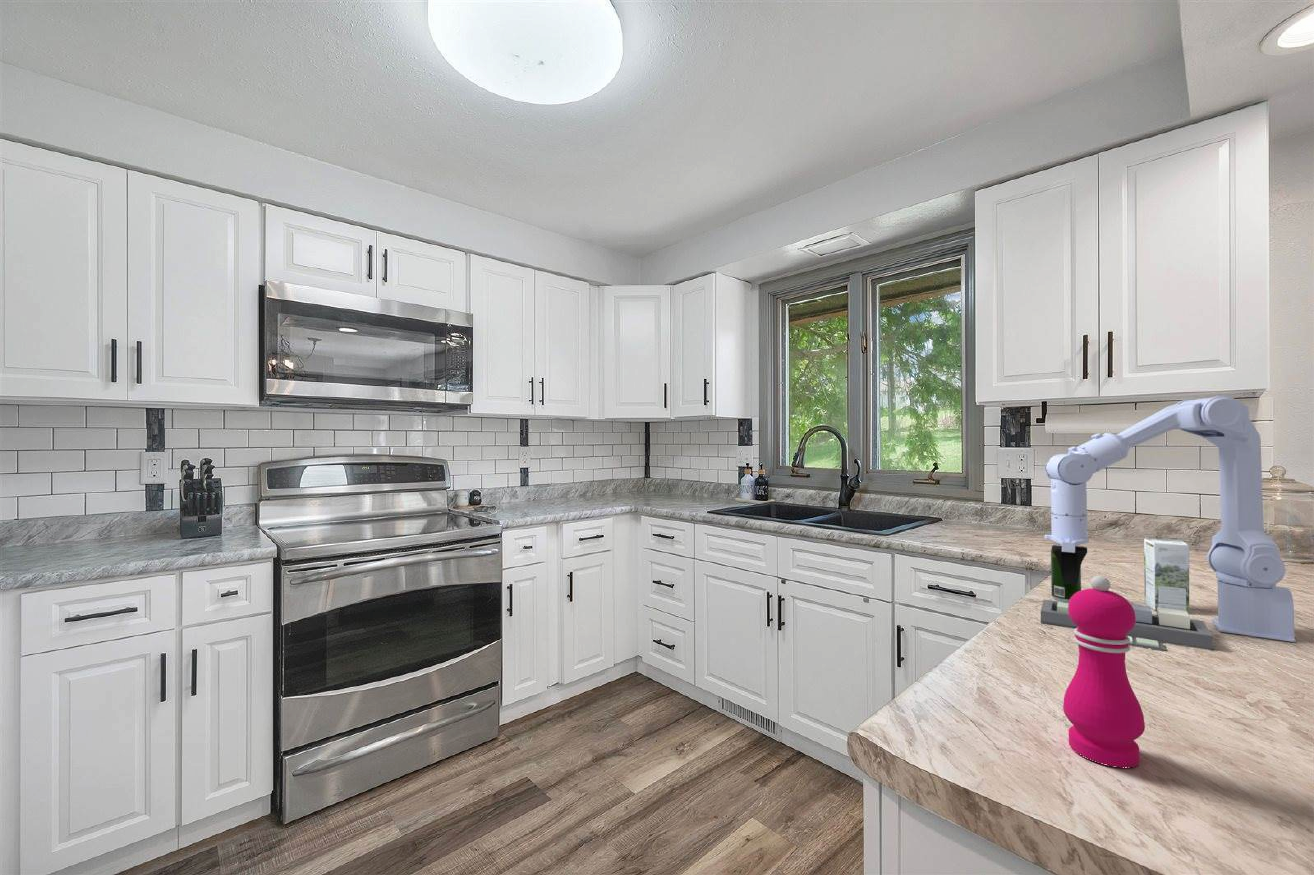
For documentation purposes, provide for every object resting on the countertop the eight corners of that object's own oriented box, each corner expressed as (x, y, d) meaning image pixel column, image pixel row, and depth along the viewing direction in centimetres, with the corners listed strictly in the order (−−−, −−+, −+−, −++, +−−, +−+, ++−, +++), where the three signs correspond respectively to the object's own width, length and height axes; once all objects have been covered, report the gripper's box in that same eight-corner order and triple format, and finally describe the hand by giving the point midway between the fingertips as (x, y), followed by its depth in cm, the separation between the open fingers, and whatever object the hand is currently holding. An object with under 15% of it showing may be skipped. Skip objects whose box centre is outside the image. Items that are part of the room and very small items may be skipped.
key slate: (1150, 618, 104) (1149, 606, 104) (1152, 623, 101) (1151, 611, 101) (1122, 614, 106) (1121, 602, 106) (1123, 619, 103) (1123, 607, 103)
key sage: (1082, 616, 110) (1082, 605, 110) (1082, 621, 107) (1082, 610, 107) (1057, 612, 112) (1057, 601, 112) (1057, 617, 109) (1056, 606, 109)
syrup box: (1178, 607, 119) (1177, 538, 119) (1190, 614, 113) (1189, 543, 114) (1144, 603, 121) (1143, 537, 121) (1154, 611, 116) (1153, 541, 116)
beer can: (1075, 604, 121) (1074, 549, 121) (1047, 599, 125) (1046, 545, 125) (1085, 600, 124) (1084, 546, 124) (1057, 595, 128) (1056, 543, 128)
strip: (1162, 645, 96) (1162, 640, 96) (1164, 651, 93) (1164, 647, 94) (1082, 632, 103) (1082, 628, 103) (1082, 637, 100) (1082, 633, 100)
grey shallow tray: (1203, 634, 102) (1203, 621, 102) (1213, 650, 94) (1213, 636, 94) (1043, 610, 116) (1043, 599, 116) (1040, 623, 108) (1040, 610, 108)
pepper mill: (1048, 738, 66) (1045, 569, 66) (1104, 735, 67) (1101, 568, 67) (1101, 774, 59) (1098, 584, 59) (1164, 770, 60) (1160, 583, 60)
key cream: (1186, 623, 101) (1186, 611, 101) (1190, 629, 98) (1189, 616, 98) (1157, 619, 103) (1156, 607, 103) (1159, 624, 100) (1159, 612, 100)
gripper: (1046, 509, 118) (1047, 573, 118) (1041, 517, 107) (1043, 588, 106) (1088, 512, 114) (1089, 578, 114) (1088, 519, 102) (1089, 593, 102)
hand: (1069, 583), depth 110 cm, fingers closed
